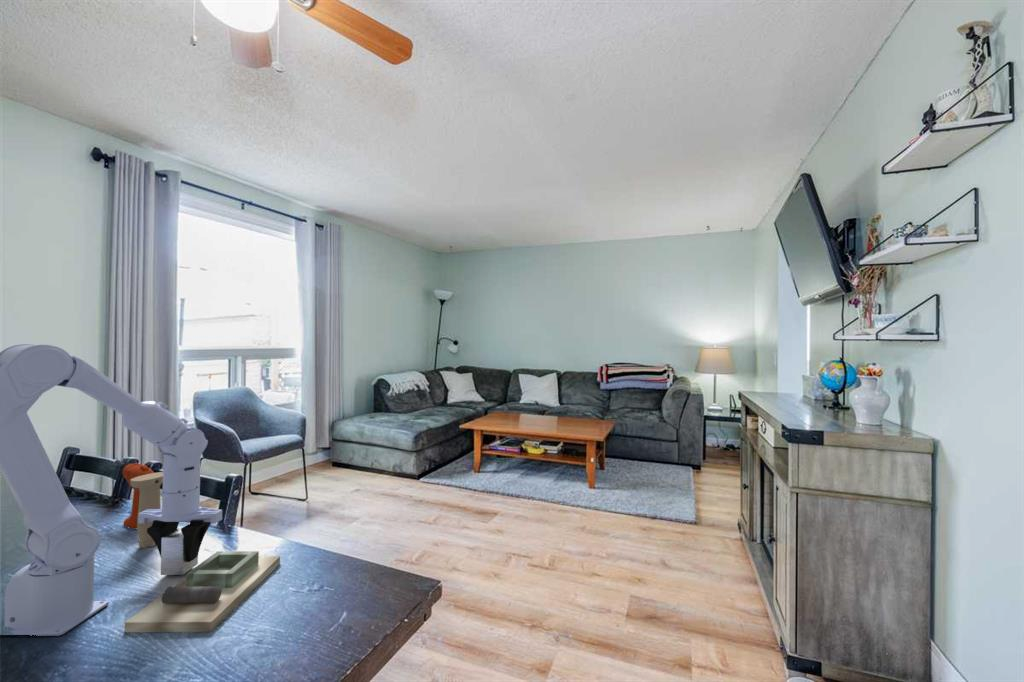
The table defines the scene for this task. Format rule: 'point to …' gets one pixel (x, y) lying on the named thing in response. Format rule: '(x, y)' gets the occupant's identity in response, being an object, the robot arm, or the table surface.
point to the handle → (147, 502)
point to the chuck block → (205, 594)
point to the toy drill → (130, 473)
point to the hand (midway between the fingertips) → (179, 559)
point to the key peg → (174, 554)
